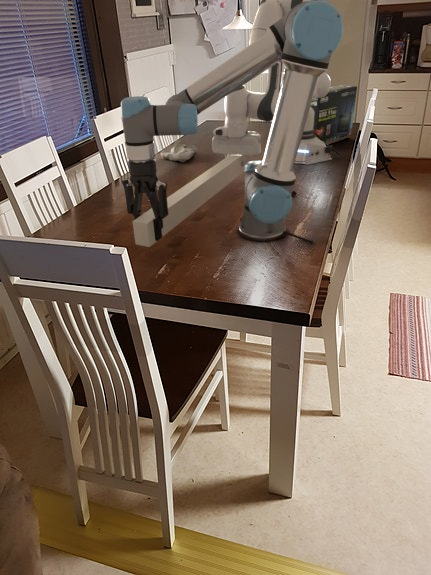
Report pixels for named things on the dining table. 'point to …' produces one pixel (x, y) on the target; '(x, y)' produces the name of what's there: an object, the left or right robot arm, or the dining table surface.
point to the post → (189, 199)
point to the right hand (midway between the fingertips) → (236, 165)
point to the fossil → (179, 152)
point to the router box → (334, 112)
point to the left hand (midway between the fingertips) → (150, 237)
